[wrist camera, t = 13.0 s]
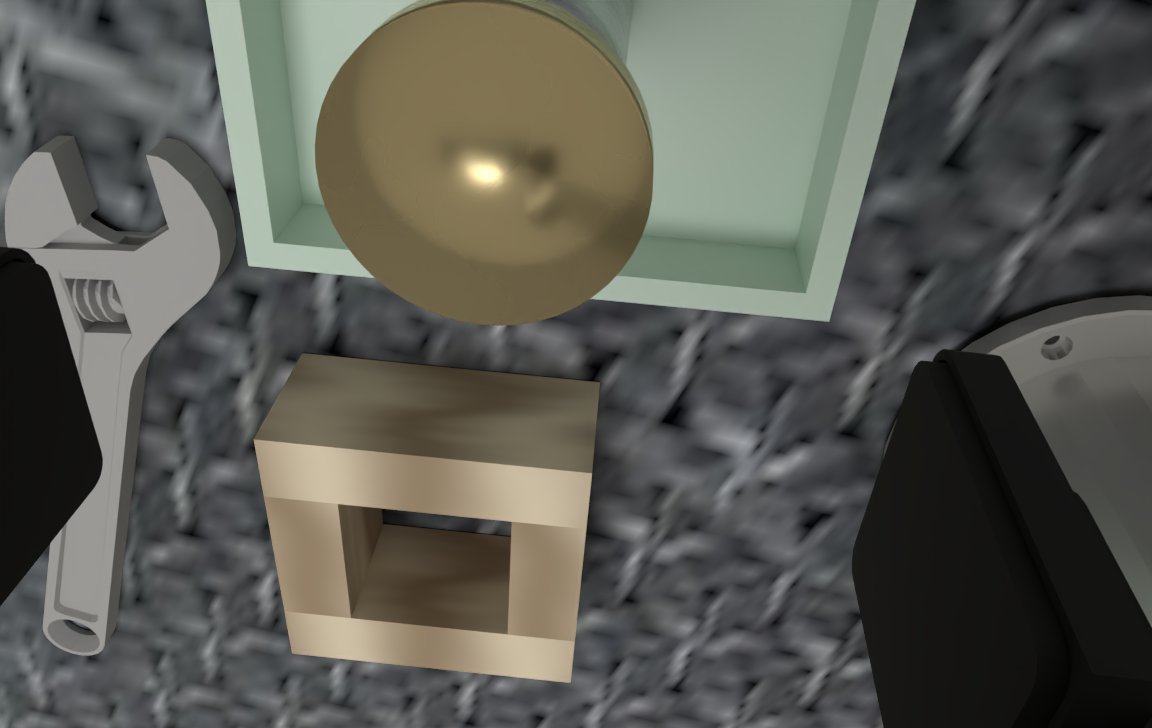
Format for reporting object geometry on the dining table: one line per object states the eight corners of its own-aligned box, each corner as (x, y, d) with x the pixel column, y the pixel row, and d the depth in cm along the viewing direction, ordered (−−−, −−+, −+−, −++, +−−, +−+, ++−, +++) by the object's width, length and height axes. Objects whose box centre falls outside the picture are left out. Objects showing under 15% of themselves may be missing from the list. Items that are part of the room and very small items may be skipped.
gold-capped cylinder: (668, -102, 21) (674, 22, 12) (644, 113, 24) (634, 339, 15) (449, -121, 22) (296, -12, 13) (451, 96, 25) (330, 309, 16)
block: (600, 382, 30) (592, 473, 27) (579, 585, 36) (570, 682, 32) (302, 353, 30) (253, 439, 27) (329, 559, 36) (292, 653, 33)
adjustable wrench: (121, 635, 41) (101, 668, 40) (-25, 583, 40) (-51, 616, 38) (258, 178, 27) (235, 204, 26) (42, 78, 26) (5, 99, 25)
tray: (958, -315, 19) (1002, -321, 17) (813, 267, 27) (829, 322, 25) (207, -376, 19) (142, -390, 17) (284, 217, 28) (248, 265, 25)
